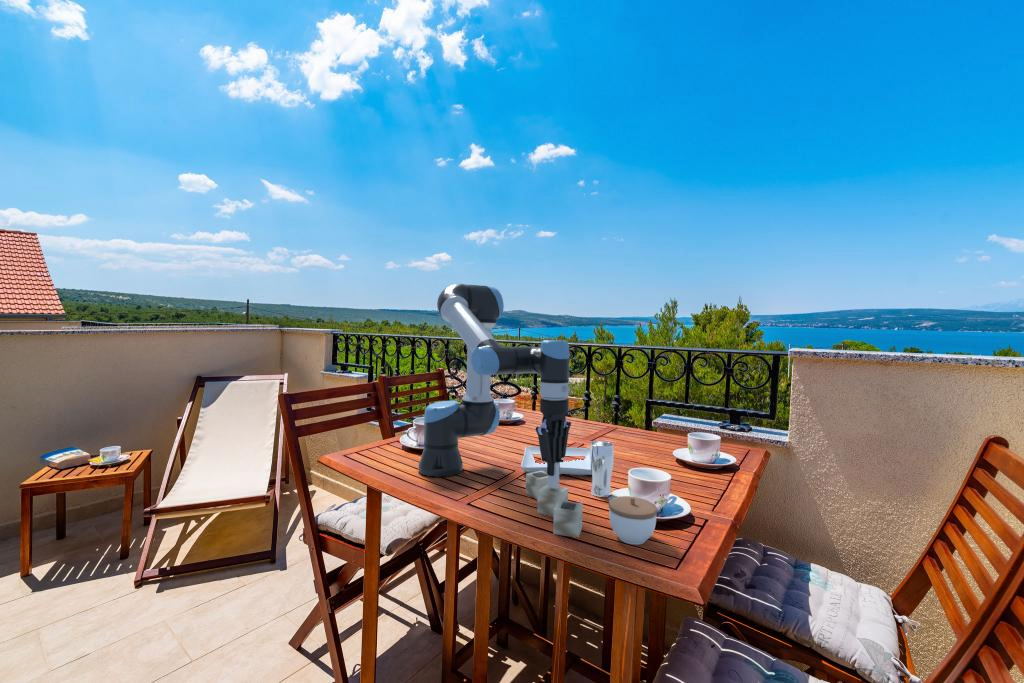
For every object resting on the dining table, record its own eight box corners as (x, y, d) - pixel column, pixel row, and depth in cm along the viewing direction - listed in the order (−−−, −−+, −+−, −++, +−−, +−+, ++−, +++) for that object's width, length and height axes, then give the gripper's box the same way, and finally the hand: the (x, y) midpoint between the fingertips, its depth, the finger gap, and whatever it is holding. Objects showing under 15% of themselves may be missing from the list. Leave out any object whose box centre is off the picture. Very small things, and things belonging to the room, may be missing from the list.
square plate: (593, 457, 160) (593, 447, 160) (602, 481, 133) (602, 469, 133) (525, 454, 163) (525, 444, 163) (519, 477, 136) (520, 465, 136)
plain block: (537, 513, 107) (537, 490, 107) (547, 505, 112) (548, 483, 112) (557, 518, 104) (558, 495, 104) (567, 510, 109) (568, 488, 109)
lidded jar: (648, 528, 99) (649, 489, 99) (663, 551, 88) (663, 508, 88) (604, 526, 100) (604, 488, 100) (613, 549, 89) (614, 506, 89)
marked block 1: (525, 493, 121) (525, 473, 121) (541, 489, 124) (542, 469, 124) (537, 500, 116) (537, 479, 116) (553, 495, 119) (554, 475, 119)
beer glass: (595, 499, 117) (596, 447, 116) (585, 490, 123) (585, 441, 123) (617, 497, 118) (618, 445, 118) (605, 488, 125) (606, 440, 125)
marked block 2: (553, 534, 96) (553, 508, 96) (557, 523, 101) (558, 499, 101) (578, 538, 94) (579, 512, 94) (582, 526, 100) (582, 502, 100)
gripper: (550, 402, 101) (549, 497, 101) (579, 397, 110) (578, 483, 110) (527, 399, 106) (526, 489, 106) (557, 394, 115) (556, 477, 115)
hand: (553, 486), depth 108 cm, fingers closed
